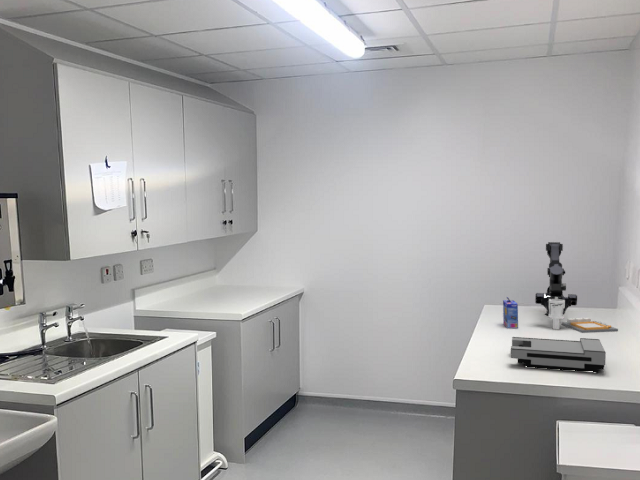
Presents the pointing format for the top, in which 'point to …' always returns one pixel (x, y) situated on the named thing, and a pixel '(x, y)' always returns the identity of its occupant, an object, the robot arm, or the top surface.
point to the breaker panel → (587, 325)
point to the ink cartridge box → (510, 313)
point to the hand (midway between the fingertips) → (556, 313)
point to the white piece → (556, 311)
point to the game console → (559, 353)
